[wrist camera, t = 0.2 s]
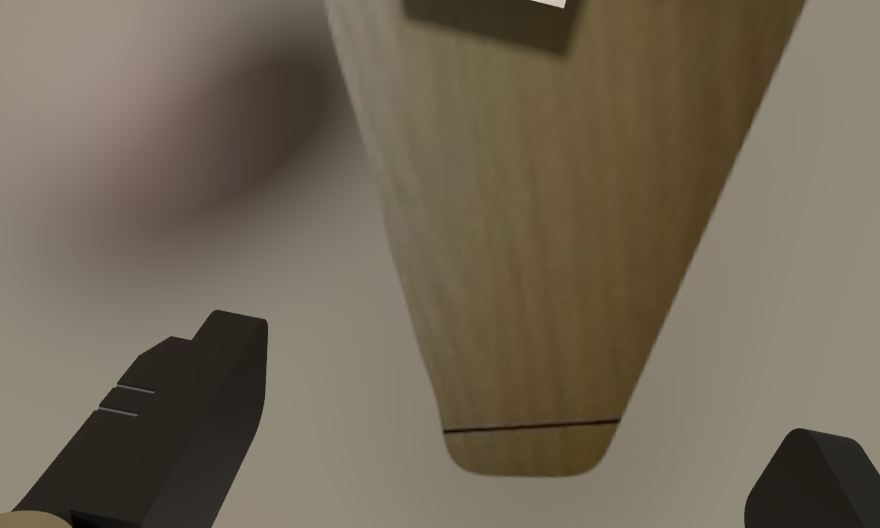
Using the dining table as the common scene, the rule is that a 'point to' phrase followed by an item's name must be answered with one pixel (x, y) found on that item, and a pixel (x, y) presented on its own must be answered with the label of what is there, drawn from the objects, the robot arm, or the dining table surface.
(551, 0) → the plinth
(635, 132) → the dining table surface
